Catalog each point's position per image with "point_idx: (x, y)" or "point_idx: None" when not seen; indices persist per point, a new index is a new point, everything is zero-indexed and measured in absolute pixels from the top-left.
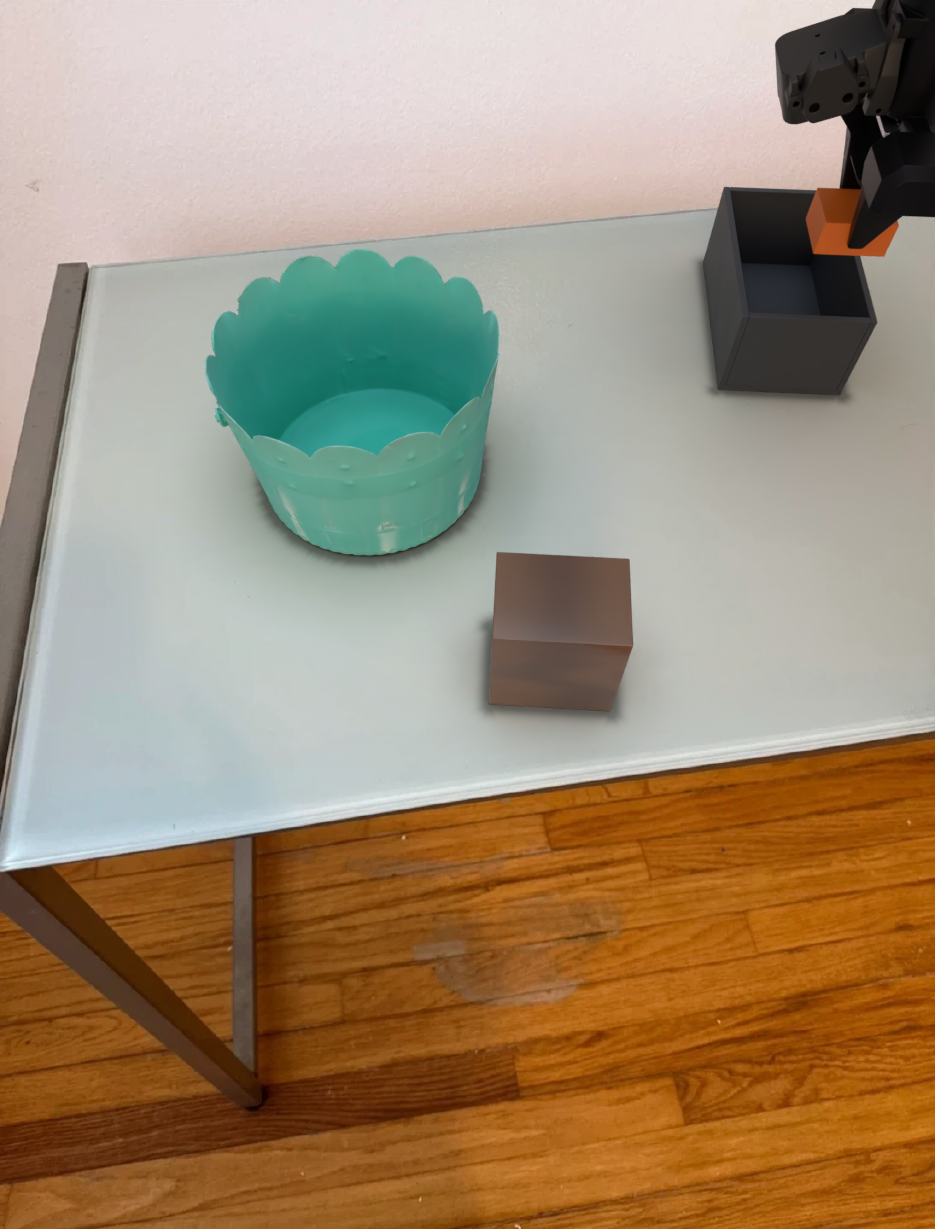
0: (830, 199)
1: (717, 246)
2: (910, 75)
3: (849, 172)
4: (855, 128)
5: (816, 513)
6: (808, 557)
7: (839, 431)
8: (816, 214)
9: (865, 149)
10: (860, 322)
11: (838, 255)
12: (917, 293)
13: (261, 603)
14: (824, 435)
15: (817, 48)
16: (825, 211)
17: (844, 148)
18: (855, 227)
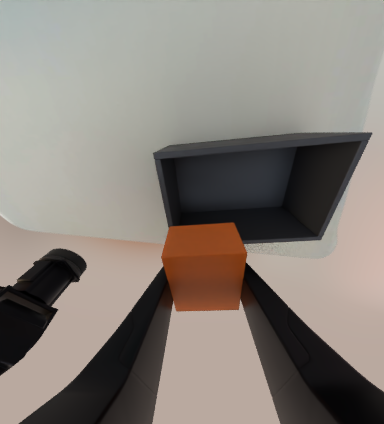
0: (216, 265)
1: (294, 136)
2: None
3: (254, 301)
4: (318, 408)
5: (96, 198)
6: (67, 193)
7: (154, 212)
8: (206, 241)
9: (274, 352)
10: None
11: (260, 227)
12: (254, 250)
13: None
14: (149, 205)
15: None
16: (186, 259)
17: (300, 320)
18: (148, 287)
